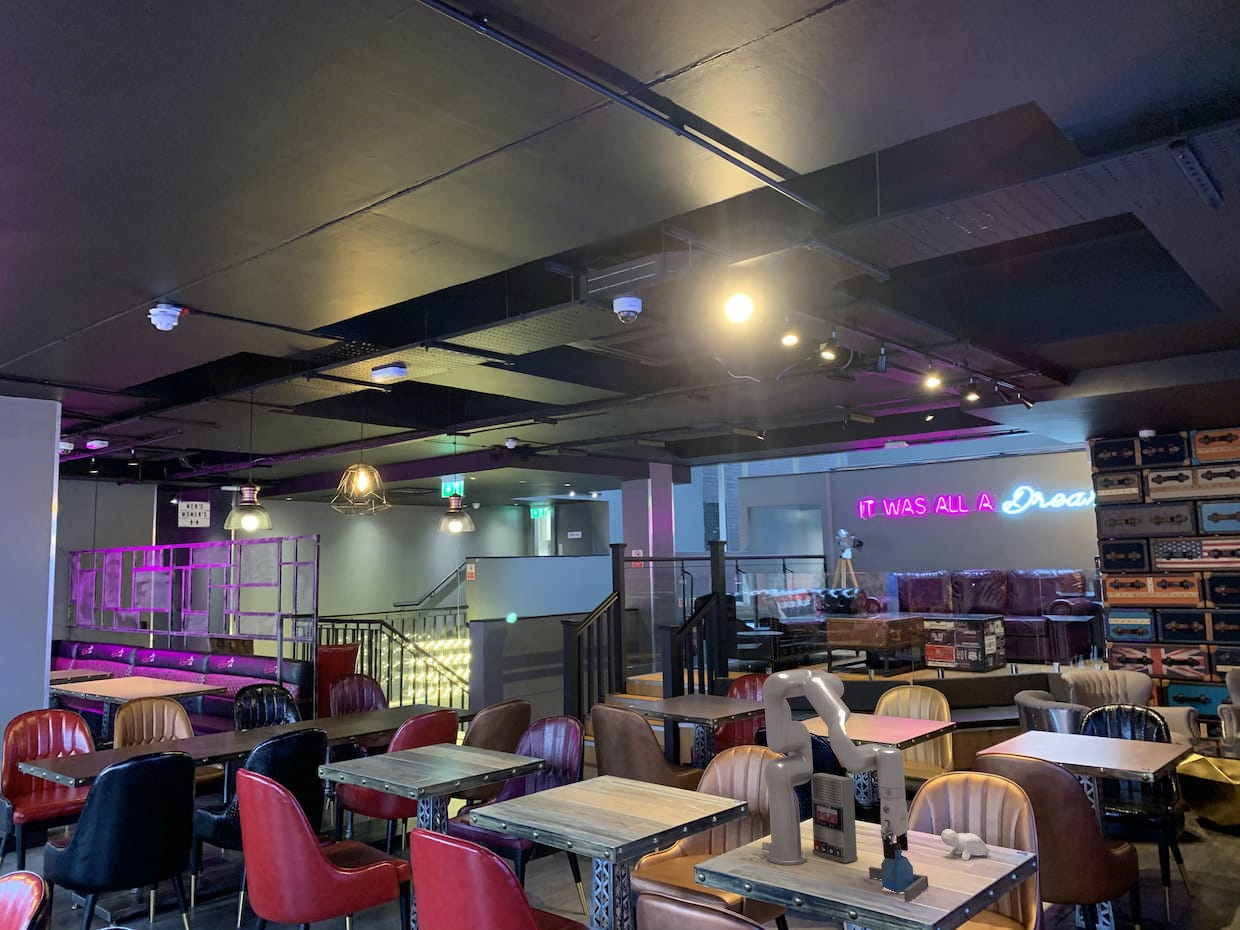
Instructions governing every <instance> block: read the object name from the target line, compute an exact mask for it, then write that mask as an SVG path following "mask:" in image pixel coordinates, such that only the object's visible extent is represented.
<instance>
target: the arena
mask: <svg viewBox="0 0 1240 930" xmlns="http://www.w3.org/2000/svg"><path fill="white" fill-rule="evenodd" d="M868 873H869V879H871V878H877V879H882V868H881V867H877V866H876V867H875V866H869V867H868ZM913 876H914V883H913V884H911V885H910V886H909V887H907V888H906V889H905V890H904V893H903V894H904V895H903V896H904V902H905V901H908V902H907V903H910V902H912V901H913V900H914V899H915V898H916V896H917V895H918V894H919V895H921V894H922V893H923V892H925V891H926V890H927V889H928V888H929V879H928V876H927V875H923V874H917V873H913ZM877 879H876V880H877ZM927 887H928V888H927ZM926 888H927V889H926ZM925 889H926V890H925ZM922 891H923V892H922ZM921 892H922V893H921ZM919 895H918V896H919ZM918 896H917V897H918ZM914 897H915V898H914ZM913 898H914V899H913ZM912 899H913V900H912ZM909 901H910V902H909Z"/></svg>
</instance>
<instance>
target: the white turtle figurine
mask: <svg viewBox="0 0 1240 930" xmlns="http://www.w3.org/2000/svg"><path fill="white" fill-rule="evenodd" d="M940 839H941V841H942V842H943V843H944V844H945V845H947V846H949V847H950V846H951V848H950V849H949V851H948V853H949V854H950V855H955V854H956V853H958V852H959V853H962V855H961V859H962V860H963V861H965V862H967V861H968V860H969V859H970V857H976V856H984V855H985V857H986V858H989V856H990V851H991V849H990V848H988V847H987V844H986V843H985V842H984V840H982V838H980V837H979V836H978V835H977V834H974V833H973V832H966V833H963V832H961V833H960V832H959V833H957V832H956V831H954V830H953V829H951V828H946V829H944V830H942V832H941V835H940Z"/></svg>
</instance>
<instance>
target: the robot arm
mask: <svg viewBox="0 0 1240 930" xmlns="http://www.w3.org/2000/svg"><path fill="white" fill-rule="evenodd" d="M761 691H762V700H763V701H762V702H763V706H764V712H765V715H764V716H765V719H764V720H765V731H766V742H767V743H766V744H767V746H768V749H769V750H770V751H771V752H772V753H774V754H788V755H785V756H781V757H776V758H773V759H772V760H770V761H769V762H767V763H766V765H765V767H764V770H763V771H764V773H763V774H764V780H765V785H766V788H767V789H766V790H767V797H768V805H769V806H768V807H769V825H770V842H771V843H769V842H766V841H763V842H762V843H761V850H763V851H767V852H768V853H767V855H766V856H767V857H766V858H767V860H768V861H769V862H771V863H773V864H777V865H781V866H782V865H784V866H793V865H794V864H795V865H800V863H801V864H804V863H805V862H807V860H808V856H807V854H805V852H804V853H803V852H802V836H801V819H800V805H799V799H798V795H797V793H796V792H795V789H794V787H795V786H800V785H804V784H806V783H808V782H810V781H811V777H812V774H814V773H813V772H814V766H813V763H814V762H813V761H814V760H813V749H812V747H813V746H812V738H811V733H810V730H809V729H808V727H807V725H805V724H804V723H803V722H802V721H799V720H793V719H792V711H791V706H790V705H789V702H788V700H787V698H795V697H803V696H805V697H806V699H807V700H808V701H809V703H810V704H811V706H812V707H813V708H814V710H815V711H816V713H817V714H818V715H819V718H820V719H821V720H822V721H823V722H824V724H825V725H826V727H827V735H828V740H829V744H830V748H831V749H832V751H833V753H834V754H835V756H836V757H837V759H838V760H839V762H840V763H841V764H842V766H844V768H845V769H847V771H849V772H850V773H852V774H864V773H867V772H872V771H873V772H874V771H876V772H877V773H876V775H877V791H878V798H879V799H880V827H881V828H880V834H881V836H880V837H881V844H882V849H883V858H888V859H895V845H894V844H893V843H894V841H895V843H899V844H901V849H902V852H907V851H908V850H909V842H908V831H909V830H910V821H909V813H908V805H907V800H906V797H907V795H906V785H905V784H906V783H905V768H904V755H903V751H902V750H901V749H900V748H897V747H885V746H882V745H879V744H878V743H877V744H876V743H866V744H861V745H857V746H856V745H855V744H854V741H852V739H851V738H850V737H849V735H848V733H847V731H846V723H847V721H849V719H850V717H851V711H850V709H849V708H848V706H847V705H846V704H845V702H844V701H843V700H842V696H843V695H844V693H845V687H844V684H843V681H842V679H841V678H840V677H839V676H837V675H836V674H834V673H830V672H825V671H818V670H812V669H806V668H805V669H794V670H783V671H778V672H774V673H772V674H771V675H769V676H767V678H765V680H764V682H763V685H762V689H761Z"/></svg>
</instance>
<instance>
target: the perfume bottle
mask: <svg viewBox="0 0 1240 930" xmlns="http://www.w3.org/2000/svg"><path fill="white" fill-rule="evenodd" d="M893 844H894V845H895V859H888V858H884V857H883V858H884V859H883V860H882V862H881V864H880V865H881V867H880V868H882V880H881V882H882V888H884V887H885V888H887V889H889V890H891V891H894V892H896V893H900V892H904V890H905V889H906V888H907V887H909V886H910V885H911V884H913V883H914V876H913V874H914V867H913V865H912V864H911V862H910V860H909V859H908V858H907V856H904V855H902V853H903V850H902V849H901V844H899V843H896V842H893Z"/></svg>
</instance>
